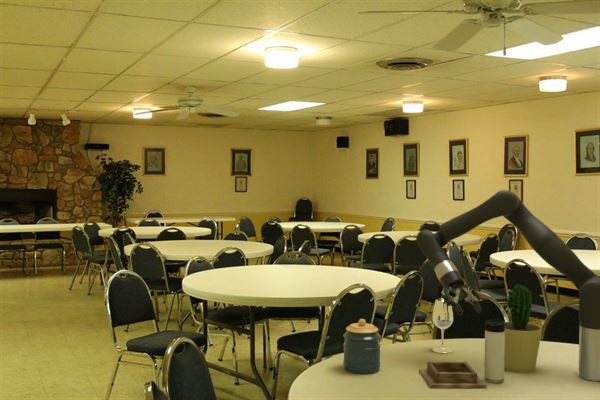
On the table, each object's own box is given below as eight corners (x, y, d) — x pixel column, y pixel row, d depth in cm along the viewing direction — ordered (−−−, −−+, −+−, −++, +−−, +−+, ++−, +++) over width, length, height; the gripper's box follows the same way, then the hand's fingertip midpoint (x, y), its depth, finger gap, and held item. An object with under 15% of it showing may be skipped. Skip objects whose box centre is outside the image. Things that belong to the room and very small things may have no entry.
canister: (335, 369, 221) (336, 318, 221) (358, 361, 231) (358, 313, 230) (365, 377, 213) (365, 324, 212) (387, 369, 222) (388, 318, 222)
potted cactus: (508, 359, 236) (509, 278, 235) (548, 367, 225) (550, 283, 224) (487, 367, 225) (488, 283, 224) (528, 376, 214) (530, 288, 214)
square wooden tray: (470, 371, 219) (471, 360, 219) (486, 388, 201) (486, 376, 201) (419, 371, 219) (419, 359, 219) (430, 388, 201) (430, 375, 201)
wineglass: (454, 353, 243) (455, 301, 242) (434, 353, 243) (435, 301, 243) (450, 348, 251) (450, 298, 250) (430, 348, 251) (431, 297, 250)
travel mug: (506, 379, 211) (507, 319, 211) (501, 384, 205) (502, 323, 205) (487, 376, 214) (488, 317, 214) (481, 381, 209) (482, 320, 208)
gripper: (438, 270, 223) (460, 308, 214) (468, 268, 230) (491, 305, 220) (428, 283, 228) (449, 321, 218) (458, 280, 235) (480, 317, 225)
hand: (470, 313), depth 219 cm, fingers open, 8 cm apart
